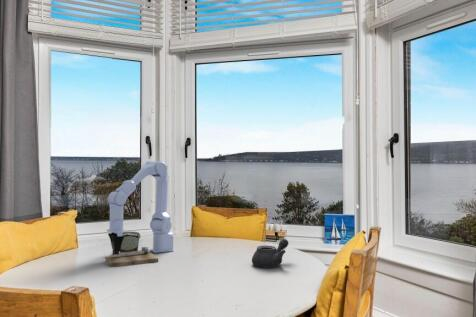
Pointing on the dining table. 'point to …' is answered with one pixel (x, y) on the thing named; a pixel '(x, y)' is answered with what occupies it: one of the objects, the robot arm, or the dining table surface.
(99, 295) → the dining table surface
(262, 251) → the teapot
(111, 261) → the walnut board
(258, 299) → the dining table surface
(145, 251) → the lever
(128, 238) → the food container
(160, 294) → the dining table surface
